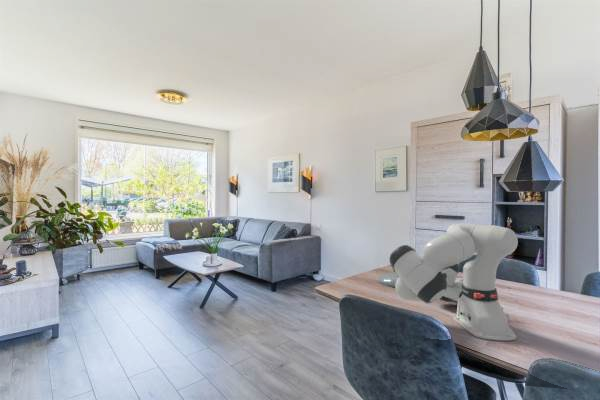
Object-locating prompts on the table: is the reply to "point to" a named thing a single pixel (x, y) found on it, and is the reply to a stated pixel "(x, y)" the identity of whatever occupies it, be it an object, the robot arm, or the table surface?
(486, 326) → the robot arm
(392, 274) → the slate plate
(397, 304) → the table surface
